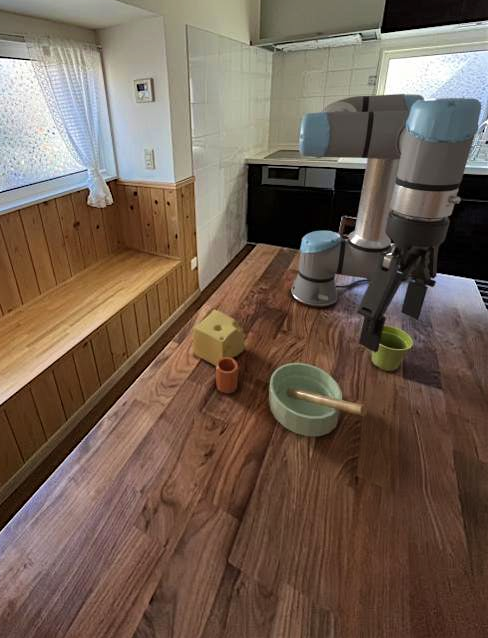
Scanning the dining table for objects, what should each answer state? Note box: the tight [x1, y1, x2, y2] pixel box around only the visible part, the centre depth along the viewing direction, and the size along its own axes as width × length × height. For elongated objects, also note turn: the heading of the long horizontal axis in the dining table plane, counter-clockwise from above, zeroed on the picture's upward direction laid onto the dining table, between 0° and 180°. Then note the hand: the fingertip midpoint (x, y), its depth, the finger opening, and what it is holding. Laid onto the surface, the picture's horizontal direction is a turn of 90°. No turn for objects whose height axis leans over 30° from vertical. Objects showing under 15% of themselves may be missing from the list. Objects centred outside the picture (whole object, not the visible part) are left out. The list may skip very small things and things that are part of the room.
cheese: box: [192, 309, 246, 367], centre depth 92 cm, size 10×11×10 cm
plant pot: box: [371, 324, 414, 372], centre depth 86 cm, size 9×9×9 cm
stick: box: [287, 388, 367, 417], centre depth 72 cm, size 2×2×18 cm
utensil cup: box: [215, 357, 239, 394], centre depth 82 cm, size 5×5×7 cm
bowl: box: [268, 362, 343, 437], centre depth 76 cm, size 15×15×6 cm
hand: (390, 330), depth 57 cm, fingers open, 13 cm apart
